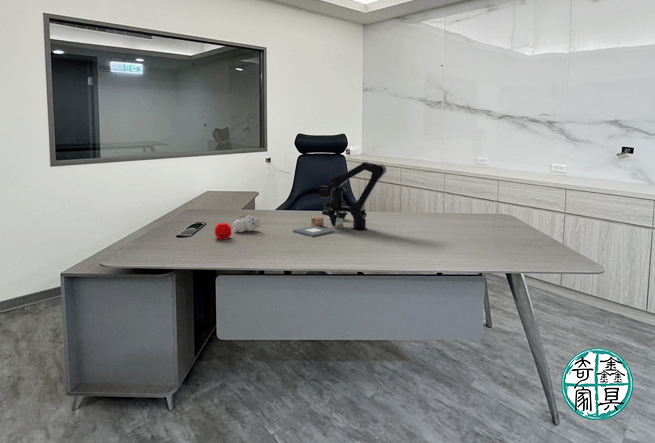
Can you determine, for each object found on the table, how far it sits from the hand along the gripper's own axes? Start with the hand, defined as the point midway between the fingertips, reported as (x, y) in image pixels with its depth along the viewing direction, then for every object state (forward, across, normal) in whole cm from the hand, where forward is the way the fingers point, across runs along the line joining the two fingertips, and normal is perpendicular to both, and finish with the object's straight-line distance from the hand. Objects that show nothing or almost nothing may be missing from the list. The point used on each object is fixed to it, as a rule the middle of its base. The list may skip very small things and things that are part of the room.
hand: (337, 225), depth 283 cm
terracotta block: (+1, +6, -10) cm, 12 cm away
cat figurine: (+1, +44, -26) cm, 51 cm away
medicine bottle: (+1, -16, -18) cm, 24 cm away
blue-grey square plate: (+1, +18, 0) cm, 18 cm away
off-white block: (+1, 0, 0) cm, 1 cm away
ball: (+1, +62, -21) cm, 66 cm away
